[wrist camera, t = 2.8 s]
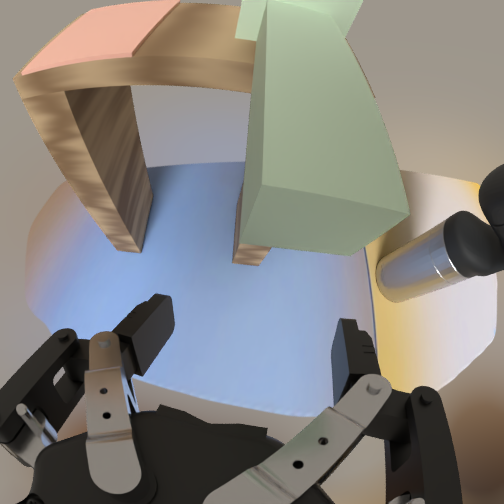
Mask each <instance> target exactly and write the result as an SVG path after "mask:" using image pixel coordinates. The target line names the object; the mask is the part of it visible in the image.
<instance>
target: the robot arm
mask: <svg viewBox="0 0 504 504" xmlns="http://www.w3.org/2000/svg"><path fill="white" fill-rule="evenodd" d="M479 203H480V206H481V209H482V211H483V213H484V215H485V217H486V219H487V220H488V222H489V223H490V225H488V224H486V223H485V222H483V221H482V220H480V219H479V218H478V217H476V216H475V215H473V214H472V213H470V212H467V211H459V212H457V213H455V214H453V215H452V216H450V217H449V218H447V219H446V220H444V221H443V222H441V223H440V224H438V225H436V226H435V227H433V228H432V229H430V230H428V231H427V232H425V233H424V234H422V235H420V236H419V237H417V238H415V239H414V240H412V241H410V242H409V243H407V244H405V245H404V246H402V247H400V248H398V249H397V250H395V251H393V252H391V253H390V254H388V255H386V256H384V257H383V258H382V259H381V260H380V261H379V263H378V266H377V270H376V279H377V284H378V287H379V289H380V291H381V293H382V294H383V295H384V296H385V297H386V298H387V299H388V300H390V301H392V302H402V301H405V300H409V299H412V298H415V297H418V296H421V295H424V294H427V293H430V292H433V291H436V290H439V289H442V288H445V287H448V286H450V285H453V284H456V283H458V282H461V281H463V280H466V279H469V278H471V277H474V276H487V275H491V274H493V273H496V272H499V271H502V270H504V164H503V165H501V166H499V167H497V168H496V169H495V170H493V171H492V172H491V173H490V174H489V175H488V176H487V177H486V178H485V180H484V181H483V182H482V184H481V187H480V189H479ZM174 326H175V321H174V313H173V305H172V299H171V297H170V296H167V295H162V294H154V295H153V296H152V297H151V298H150V299H149V300H148V301H145V302H143V303H141V304H139V305H137V306H136V307H135V308H134V309H133V310H132V311H131V313H129V314H128V315H127V317H125V318H124V319H123V320H122V321H121V322H120V323H119V324H118V325H117V326H116V327H115V328H114V329H113V331H112V332H109V331H105V332H100V333H97V334H96V335H94V336H93V337H92V338H91V339H90V340H87V339H78V337H77V334H76V332H75V331H74V330H73V329H69V328H65V329H61V330H58V331H57V332H55V333H54V334H53V335H52V336H51V337H50V338H49V339H48V340H47V341H46V342H45V343H44V344H43V345H42V346H41V347H40V348H39V349H38V350H37V351H36V352H35V353H34V354H33V355H32V356H31V357H30V358H29V359H28V360H27V361H26V362H25V363H24V364H23V365H22V366H21V368H20V369H18V371H17V372H16V373H15V374H14V375H13V376H12V377H11V378H10V379H9V380H8V381H7V383H6V384H5V385H4V386H3V387H2V388H1V389H0V444H1V445H2V446H3V447H4V448H5V449H6V450H7V451H8V452H9V453H10V454H11V455H12V456H14V457H15V458H16V459H17V460H18V461H19V462H21V463H22V464H23V465H24V466H27V467H32V468H33V469H34V477H33V483H32V487H31V490H30V493H29V495H28V496H27V497H26V498H25V499H24V500H23V501H21V502H19V503H17V504H335V503H334V502H333V501H332V500H331V498H330V497H329V496H328V495H327V494H326V493H325V491H324V490H323V489H322V488H321V487H320V486H321V485H322V484H323V483H324V482H325V481H326V480H327V479H328V478H329V477H330V476H331V474H332V473H333V472H334V471H335V470H336V469H337V468H338V467H339V465H340V464H341V463H342V462H343V461H344V460H345V459H346V457H347V456H348V455H349V454H350V453H351V452H352V450H353V449H354V448H355V447H356V445H357V444H358V443H359V442H360V441H361V439H362V438H363V437H364V436H365V435H367V436H371V437H375V438H379V439H384V445H385V465H386V466H385V467H386V504H463V503H462V493H461V485H460V478H459V472H458V467H457V461H456V456H455V451H454V446H453V443H452V437H451V433H450V429H449V426H448V421H447V418H446V414H445V411H444V407H443V404H442V400H441V398H440V395H439V394H438V392H437V391H435V390H434V389H432V388H430V387H427V386H420V387H417V388H415V389H414V390H413V391H412V393H411V394H410V393H405V392H401V391H397V390H394V389H392V387H391V384H390V382H389V381H388V380H387V379H386V378H384V377H383V376H381V372H380V368H379V364H378V360H377V356H376V354H375V349H374V347H373V346H374V345H373V342H372V338H371V337H370V336H369V335H368V333H367V332H366V331H360V330H358V326H357V322H356V320H355V319H343V318H340V319H339V321H338V325H337V329H336V333H335V337H334V341H333V345H332V350H331V363H332V378H333V398H334V407H333V408H331V407H327V408H326V409H325V410H324V411H323V412H322V413H321V414H320V415H318V416H317V417H316V418H315V419H314V420H313V421H312V422H311V423H310V424H309V425H308V426H306V427H305V428H304V429H303V430H302V431H301V432H300V433H298V434H297V435H296V436H295V437H294V438H293V439H291V440H290V441H289V442H288V443H287V444H286V445H285V444H284V443H282V442H280V441H279V440H277V439H274V438H273V437H270V436H267V429H268V428H263V427H256V426H250V425H244V424H210V423H207V422H204V421H203V420H200V419H198V418H196V417H194V416H192V415H191V414H188V413H187V412H185V411H181V410H178V409H174V408H171V407H167V406H164V405H161V404H160V406H159V407H158V409H157V411H141V412H139V409H138V404H137V400H136V395H135V391H134V386H133V382H132V378H131V377H132V376H133V374H136V375H139V376H142V377H143V376H144V374H145V373H146V371H147V370H148V368H149V367H150V365H151V364H152V362H153V361H154V359H155V358H156V356H157V355H158V353H159V352H160V351H161V349H162V348H163V346H164V345H165V343H166V342H167V340H168V339H169V338H170V336H171V335H172V333H173V330H174ZM62 367H63V368H64V370H65V374H64V375H63V376H62V378H60V380H59V381H58V382H57V383H56V385H55V386H54V384H53V379H54V376H55V375H56V374H57V372H58V371H59V370H60V369H61V368H62ZM84 394H85V404H86V419H87V429H88V431H87V432H85V433H82V434H79V435H76V436H73V437H70V438H67V439H64V440H61V441H58V442H57V433H58V431H59V430H60V428H61V427H62V425H63V424H64V422H65V421H66V419H67V418H68V417H69V415H70V413H71V412H72V411H73V409H74V408H75V406H76V405H77V403H78V402H79V401H80V399H81V398H82V396H83V395H84Z"/></svg>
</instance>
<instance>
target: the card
mask: <svg viewBox="0 0 504 504" xmlns="http://www.w3.org/2000/svg"><path fill="white" fill-rule="evenodd" d="M179 3H180V0H163V1H147V2H136V3H127V4H119V5H113V6H107V7H101V8H97V9H91V10H90V11H89V12H87V13H86V14H84V15H83V16H82V17H80V18H79V19H78V20H76V21H75V22H74V23H73V24H71V25H70V26H69V27H68V28H66V29H65V30H64V31H63V32H62V33H61V34H59V35H58V36H57V37H56V38H55V39H54V40H53V41H52V42H50V43H49V44H48V45H47V46H46V47H45V48H44V49H43V50H42V51H41V52H40V53H39V54H38V55H37V56H36V57H35V58H34V59H33V60H32V61H31V62H30V63H29V64H28V65H27V66H26V67H25V68H24V70H23V71H22V72H21V74H22V76H23V75H26V74H30V73H33V72H37V71H41V70H45V69H50V68H54V67H59V66H64V65H69V64H75V63H81V62H87V61H94V60H103V59H112V58H125V57H133V55H134V54H135V53H136V51H137V50H138V49H139V48H140V46H141V45H142V44H143V43H144V41H145V40H146V39H147V38H148V37H149V36H150V34H151V33H152V32H153V31H154V30H155V29H156V27H157V26H158V25H159V24H160V23H161V22H162V21H163V20H164V19H165V18H166V17H167V16H168V15H169V13H170V12H171V11H172V10H173V9H174V8H175V7H176V6H177V5H178V4H179Z"/></svg>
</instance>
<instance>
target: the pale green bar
mask: <svg viewBox="0 0 504 504" xmlns="http://www.w3.org/2000/svg"><path fill="white" fill-rule="evenodd" d="M362 2H363V0H242V4H241V9H240V14H239V18H238V23H237V28H236V34H235V38H238V39H246V40H252V41H256V50H255V60H254V70H253V81H252V91H251V102H250V114H249V125H248V137H247V148H246V161H245V173H244V186H243V198H242V212H241V225H240V239H239V243H240V244H249V245H258V246H267V247H275V248H284V249H293V250H301V251H310V252H319V253H327V254H336V255H344V256H351V255H353V254H354V253H356V252H357V251H359V250H360V249H362V248H363V247H365V246H366V245H368V244H369V243H371V242H372V241H374V240H375V239H377V238H378V237H380V236H381V235H382V234H384V233H385V232H387V231H388V230H390V229H391V228H392V227H394V226H395V225H397V224H398V223H399V222H401V221H402V220H404V219H405V218H406V217H408V216H409V215H410V210H409V206H408V201H407V197H406V193H405V189H404V185H403V181H402V178H401V174H400V170H399V167H398V164H397V160H396V157H395V154H394V151H393V148H392V145H391V141H390V139H389V136H388V133H387V130H386V127H385V124H384V122H383V119H382V116H381V114H380V111H379V109H378V106H377V104H376V101H375V99H374V97H373V94H372V92H371V90H370V87H369V85H368V83H367V81H366V79H365V76H364V74H363V72H362V70H361V68H360V66H359V64H358V62H357V60H356V58H355V56H354V54H353V52H352V51H351V49H350V47H349V45H348V43H347V41H346V40H345V37H346V35H347V33H348V31H349V29H350V27H351V25H352V23H353V21H354V19H355V17H356V14H357V12H358V10H359V8H360V6H361V4H362Z"/></svg>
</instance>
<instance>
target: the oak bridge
mask: <svg viewBox="0 0 504 504" xmlns="http://www.w3.org/2000/svg"><path fill="white" fill-rule="evenodd" d="M240 9H241V7H238V6H229V5H219V4H202V3H179V4H178V5H177V6H176V7H175V8H174V9H173V10H172V11H171V12H170V13H169V15H168V16H167V17H166V18H165V19H164V20H163V21H162V22H161V23H160V24H159V25H158V26H157V27H156V29H155V30H154V31H153V32H152V33H151V34H150V36H149V37H148V38H147V39H146V40H145V41H144V43H143V44H142V45H141V46H140V48H139V49H138V50H137V51H136V53H135V54H134V55H133V57H125V58H112V59H103V60H94V61H87V62H81V63H75V64H69V65H64V66H59V67H54V68H50V69H45V70H41V71H37V72H33V73H30V74H26V75H23V76H22V74H21V72H22V71H23V70H24V68H25V67H26V66H27V65H28V64H29V63H30V62H31V61H32V60H33V59H34V58H35V57H36V56H37V55H38V54H39V53H40V52H41V51H42V50H43V49H44V48H45V47H46V46H47V45H48V44H49V43H50V42H52V41H53V40H54V39H55V38H56V37H57V36H58V35H59V34H61V33H62V32H63V31H64V30H65V29H66V28H68V27H69V26H70V25H71V24H73V23H74V22H75V21H76V20H78V19H79V18H80V17H82V16H83V15H84V14H82V15H80V16H79V17H78V18H76V19H75V20H74V21H73V22H71V23H70V24H69V25H67V26H66V27H65V28H64V29H63V30H62V31H60V32H59V33H58V34H57V35H56V36H54V37H53V38H52V39H51V40H50V41H49V42H48V43H47V44H46V45H44V46H43V47H42V48H41V49H40V50H39V51H38V52H37V53H36V54H35V55H34V56H33V57H32V58H31V59H30V60H29V61H28V62H27V63H26V65H24V67H23V68H22V69H21V70H20V71H19V72H18V73H17V74H16V75H15V77H14V78H13V81H14V83H15V85H16V88H17V90H18V92H19V94H20V96H21V99H22V101H23V103H24V105H25V107H26V109H27V111H28V113H29V115H30V117H31V119H32V121H33V123H34V125H35V127H36V129H37V130H38V132H39V134H40V136H41V138H42V140H43V141H44V143H45V145H46V146H47V148H48V150H49V152H50V153H51V155H52V157H53V159H54V160H55V162H56V164H57V165H58V167H59V168H60V170H61V172H62V173H63V175H64V176H65V178H66V180H67V181H68V183H69V184H70V186H71V187H72V189H73V190H74V192H75V193H76V195H77V196H78V198H79V199H80V201H81V202H82V204H83V205H84V206H85V208H86V209H87V211H88V212H89V214H90V215H91V216H92V218H93V219H94V220H95V222H96V223H97V225H98V226H99V227H100V229H101V230H102V231H103V233H104V234H105V235H106V237H107V238H108V239H109V241H110V242H111V243H112V244H113V246H114V247H115V248H116V250H118V251H126V252H135V253H141V251H142V245H143V240H144V235H145V230H146V226H147V221H148V216H149V212H150V208H151V203H152V199H153V193H152V189H151V185H150V181H149V177H148V173H147V169H146V165H145V160H144V156H143V151H142V146H141V142H140V137H139V132H138V127H137V122H136V116H135V111H134V105H133V99H132V93H131V87H130V85H169V86H170V85H171V86H172V85H173V86H190V87H202V88H213V89H222V90H230V91H238V92H245V93H251V91H252V81H253V70H254V60H255V50H256V41H252V40H246V39H238V38H235V34H236V28H237V23H238V18H239V14H240ZM85 14H86V13H85ZM345 40H346V41H347V39H346V38H345ZM347 43H348V42H347ZM348 45H349V43H348ZM349 47H350V45H349ZM350 49H351V51H352V52H353V50H352V48H351V47H350ZM353 54H354V52H353ZM354 56H355V54H354ZM355 58H356V56H355ZM356 60H357V58H356ZM357 62H358V60H357ZM358 64H359V62H358ZM359 66H360V64H359ZM360 68H361V66H360ZM361 70H362V68H361ZM362 72H363V70H362ZM363 74H364V72H363ZM364 76H365V74H364ZM365 79H366V81H367V83H368V80H367V78H366V76H365ZM368 85H369V87H370V84H369V83H368ZM370 90H371V92H372V94H373V91H372V89H371V87H370ZM373 97H374V99H375V96H374V94H373ZM243 186H244V181H243V185H242V188H241V192H240V196H239V199H238V203H237V210H236V222H235V234H234V247H233V260H232V263H235V264H245V265H255V266H259V265H260V263H261V262H262V260H263V259H264V258H265V256H266V255H267V253H268V252H269V250H270V249H271V248H272V247H267V246H258V245H249V244H240V243H239V239H240V225H241V212H242V198H243Z"/></svg>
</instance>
